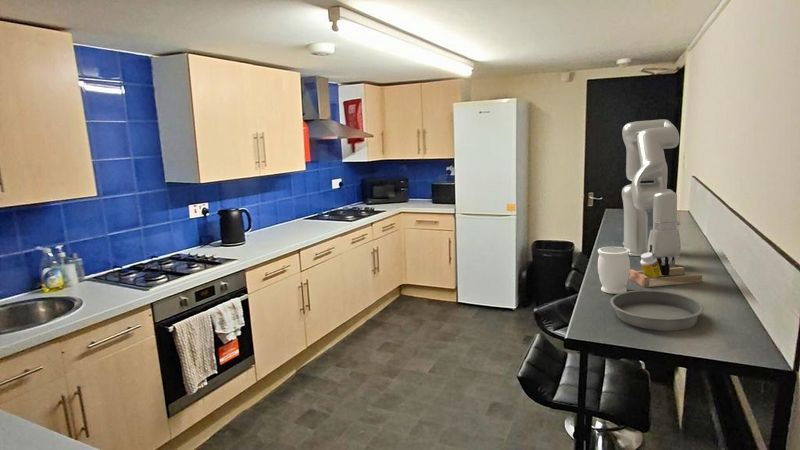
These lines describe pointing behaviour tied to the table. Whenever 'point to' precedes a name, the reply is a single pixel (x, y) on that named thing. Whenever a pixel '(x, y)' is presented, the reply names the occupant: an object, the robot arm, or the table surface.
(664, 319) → the cake pan
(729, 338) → the table surface
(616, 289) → the jar
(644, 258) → the supplement bottle
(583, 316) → the table surface
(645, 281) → the channel
